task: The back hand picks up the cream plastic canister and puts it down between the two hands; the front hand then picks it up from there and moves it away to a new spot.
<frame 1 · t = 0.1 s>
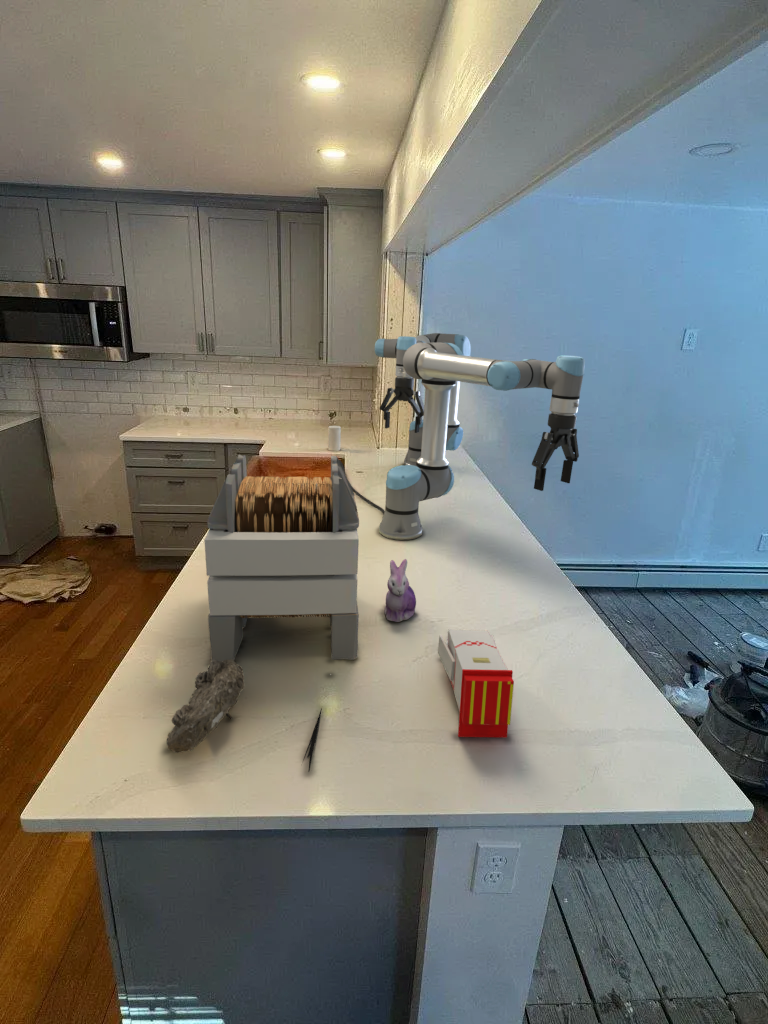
front hand: (552, 485, 166), 28 cm above the counter, tool pointing down, fingers open, 13 cm apart
back hand: (401, 430, 232), 28 cm above the counter, tool pointing down, fingers open, 13 cm apart
record crate: (288, 623, 141), on the counter
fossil: (212, 717, 108), on the counter
figurine: (399, 614, 147), on the counter
canister: (334, 449, 313), on the counter
feather: (319, 719, 109), on the counter
toy: (469, 691, 119), on the counter
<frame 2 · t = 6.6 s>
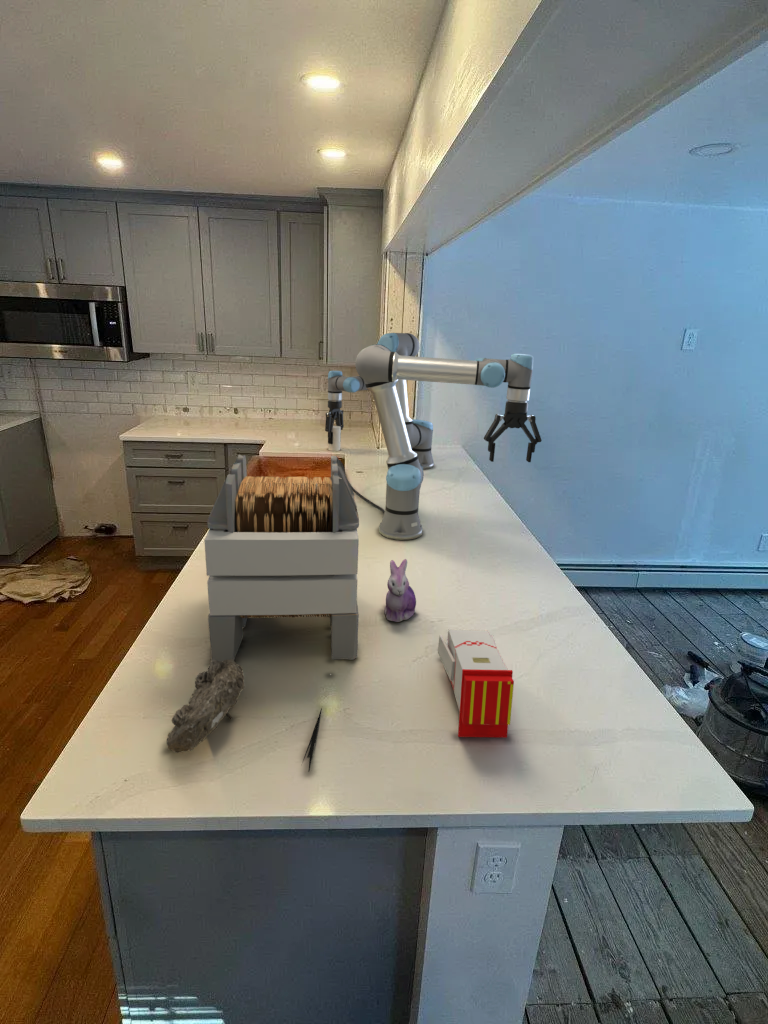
front hand: (509, 461, 201), 26 cm above the counter, tool pointing down, fingers open, 13 cm apart
back hand: (334, 442, 311), 4 cm above the counter, tool pointing down, fingers closed on canister, 7 cm apart
canister: (334, 449, 313), on the counter, touching back hand
everything else where it was.
when the back hand's fingers open (5 cm above the counter, at t = 16.8 s): canister drops 1 cm, on the counter.
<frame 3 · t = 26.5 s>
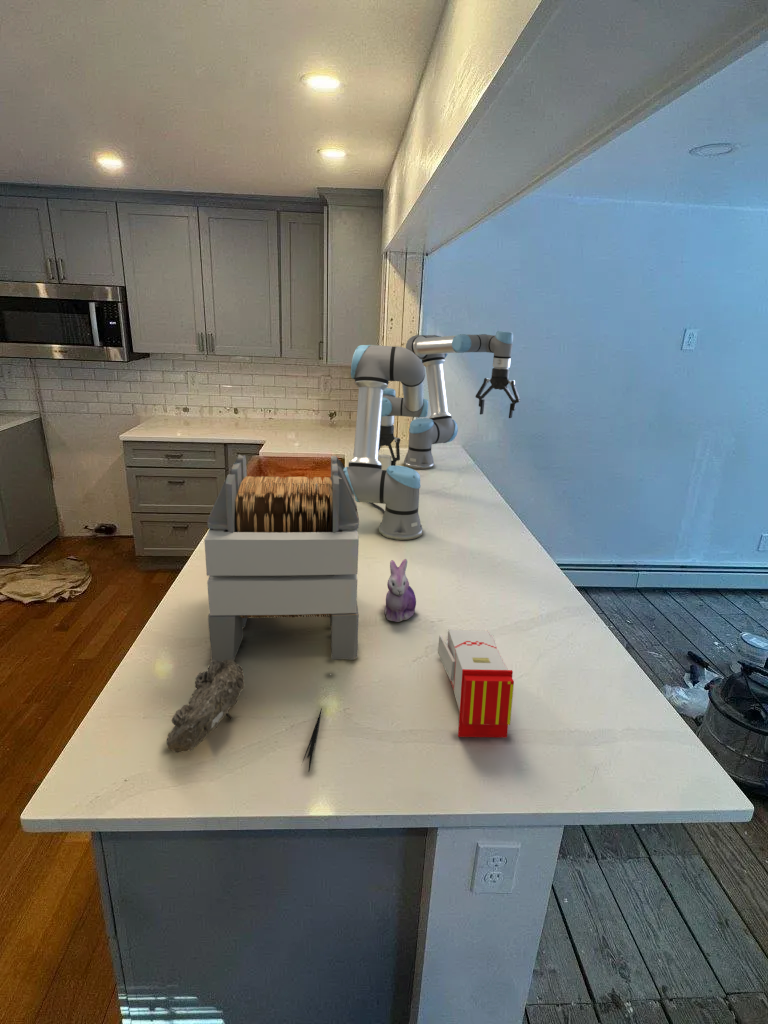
front hand: (383, 475, 255), 4 cm above the counter, tool pointing down, fingers closed on canister, 7 cm apart
back hand: (495, 416, 258), 31 cm above the counter, tool pointing down, fingers open, 13 cm apart
canister: (382, 483, 256), on the counter, touching front hand
everything else where it was.
when the front hand's fingers open (5 cm above the counter, at t = 35.5 s): canister drops 1 cm, on the counter.
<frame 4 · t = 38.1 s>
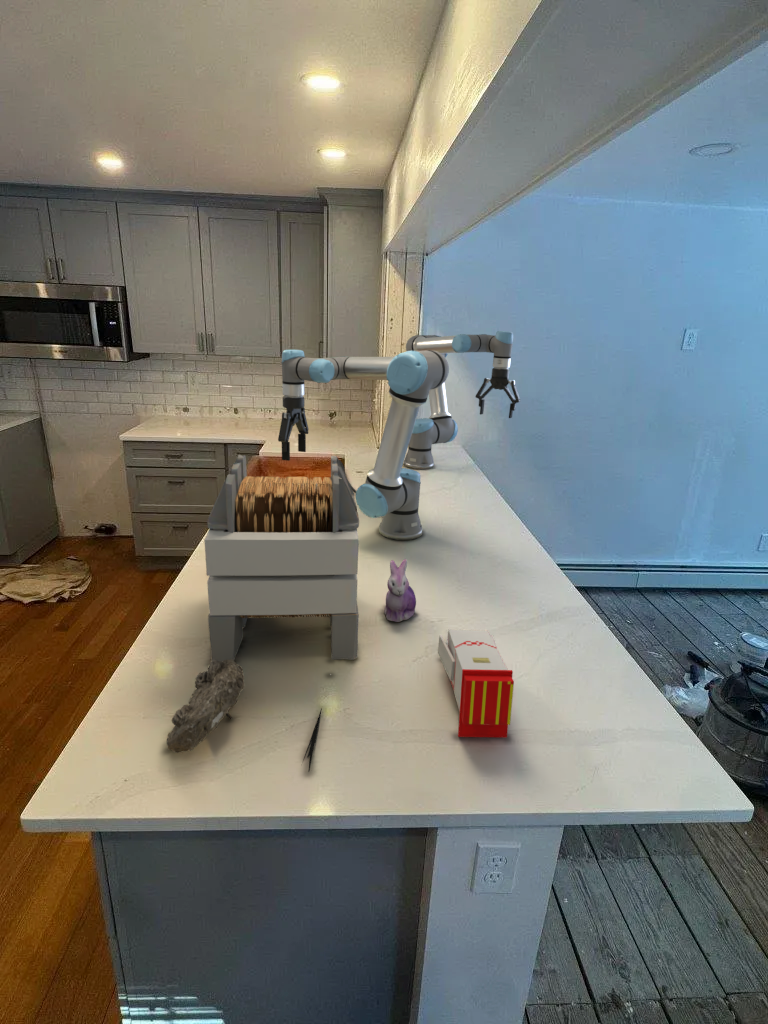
front hand: (294, 455, 204), 23 cm above the counter, tool pointing down, fingers open, 13 cm apart
back hand: (495, 416, 258), 31 cm above the counter, tool pointing down, fingers open, 13 cm apart
canister: (294, 516, 212), on the counter
everything else where it was.
at the end: canister inside the target area (0.0 cm from its centre), on the counter; canister tilted 0°; the two hands never held the canister at the same time; the front hand is holding nothing; the back hand is holding nothing; canister at rest at the end (0.0 cm/s) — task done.
